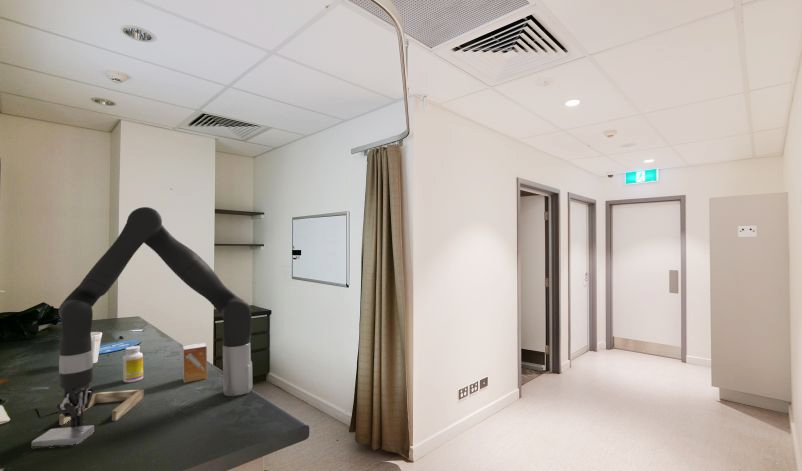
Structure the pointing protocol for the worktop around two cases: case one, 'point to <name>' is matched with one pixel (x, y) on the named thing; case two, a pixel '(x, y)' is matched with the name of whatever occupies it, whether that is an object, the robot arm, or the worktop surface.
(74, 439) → the cover plate
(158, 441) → the worktop surface
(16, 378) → the worktop surface
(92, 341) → the cup
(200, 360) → the small box
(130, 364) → the supplement bottle
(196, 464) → the worktop surface
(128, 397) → the wooden bracket
